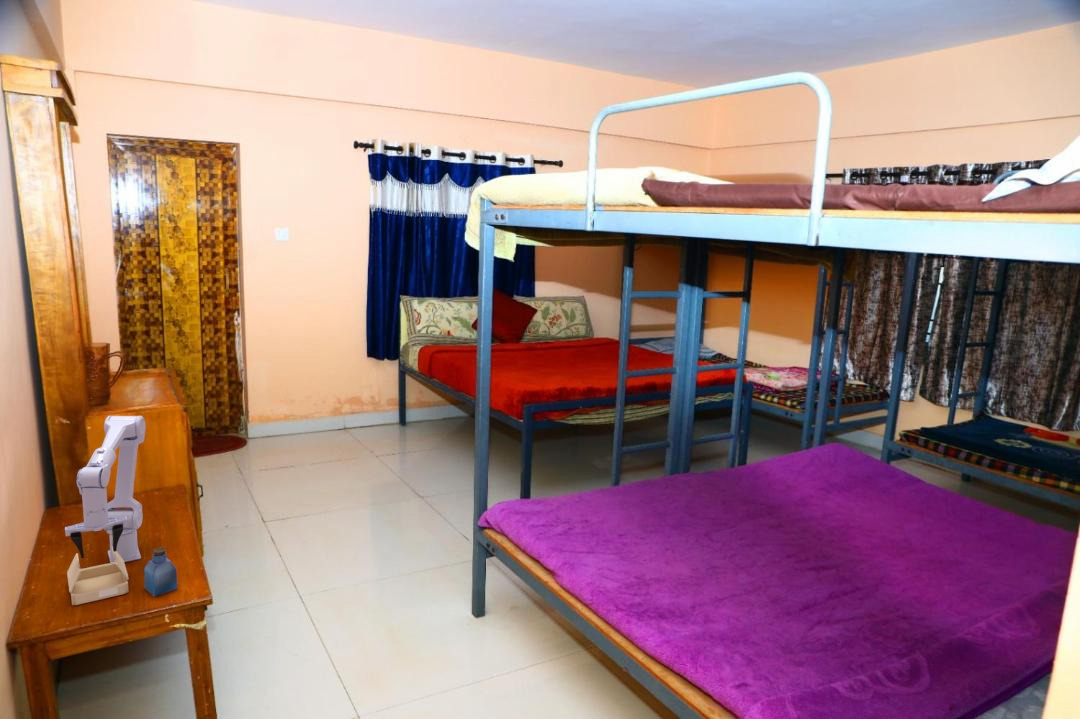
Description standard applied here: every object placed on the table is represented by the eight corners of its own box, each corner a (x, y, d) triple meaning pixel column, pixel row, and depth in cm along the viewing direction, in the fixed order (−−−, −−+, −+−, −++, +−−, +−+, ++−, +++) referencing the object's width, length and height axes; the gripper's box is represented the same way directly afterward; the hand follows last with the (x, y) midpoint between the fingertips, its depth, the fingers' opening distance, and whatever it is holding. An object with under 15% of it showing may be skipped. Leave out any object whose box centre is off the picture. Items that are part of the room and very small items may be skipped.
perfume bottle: (167, 580, 202) (165, 542, 200) (177, 588, 198) (175, 550, 196) (145, 588, 197) (142, 549, 195) (154, 596, 194) (152, 557, 191)
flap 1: (67, 572, 196) (76, 553, 197) (68, 572, 196) (77, 553, 197) (69, 592, 187) (79, 571, 187) (71, 592, 187) (80, 572, 188)
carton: (69, 581, 198) (68, 571, 198) (122, 569, 206) (121, 560, 206) (72, 606, 186) (71, 596, 186) (128, 593, 194) (128, 583, 194)
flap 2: (122, 561, 204) (111, 546, 202) (123, 560, 204) (112, 546, 202) (127, 579, 195) (115, 564, 192) (128, 579, 195) (117, 563, 193)
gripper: (64, 519, 184) (68, 565, 187) (127, 508, 193) (130, 553, 196) (63, 509, 190) (66, 554, 193) (124, 499, 198) (127, 542, 201)
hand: (98, 553), depth 195 cm, fingers open, 7 cm apart
